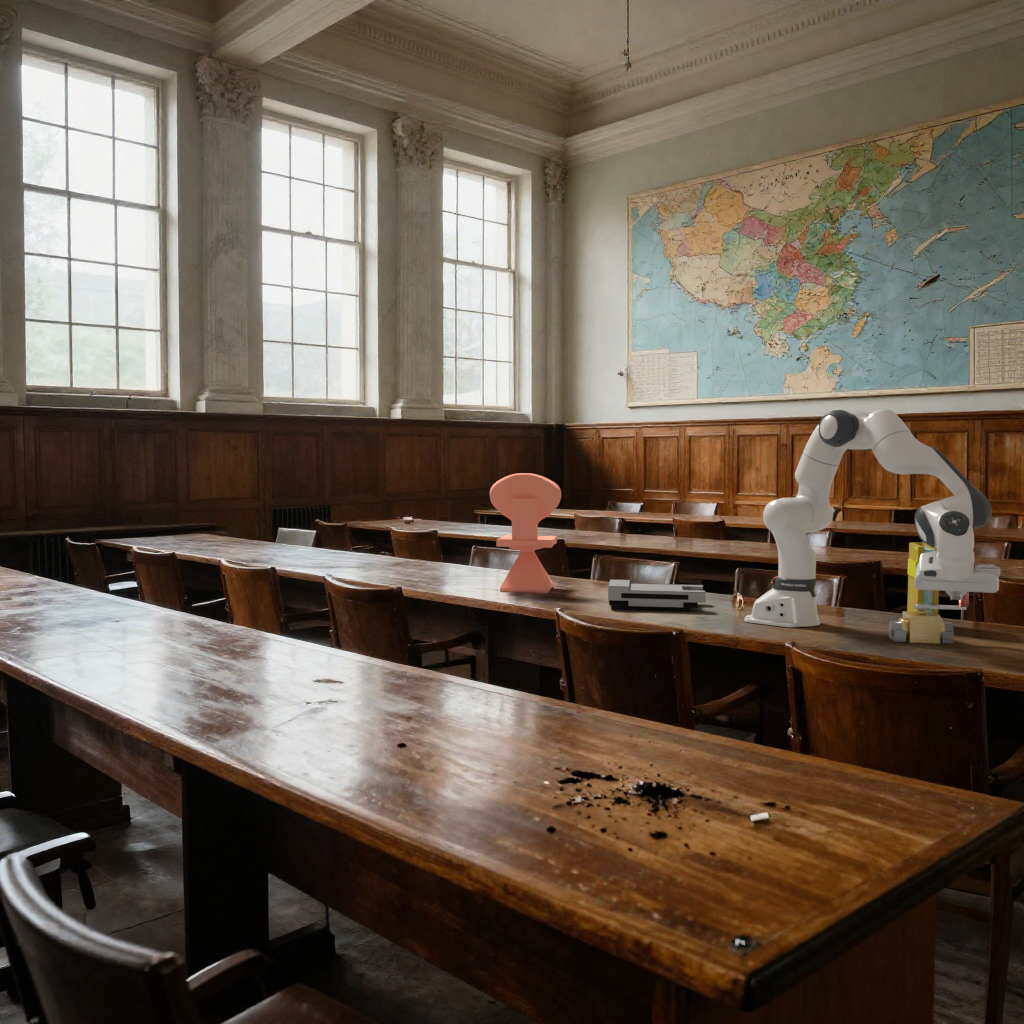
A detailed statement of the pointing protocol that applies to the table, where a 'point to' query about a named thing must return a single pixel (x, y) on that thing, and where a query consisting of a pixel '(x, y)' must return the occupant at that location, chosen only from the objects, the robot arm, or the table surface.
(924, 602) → the book
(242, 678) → the table surface
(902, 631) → the valve body
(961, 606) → the lever
